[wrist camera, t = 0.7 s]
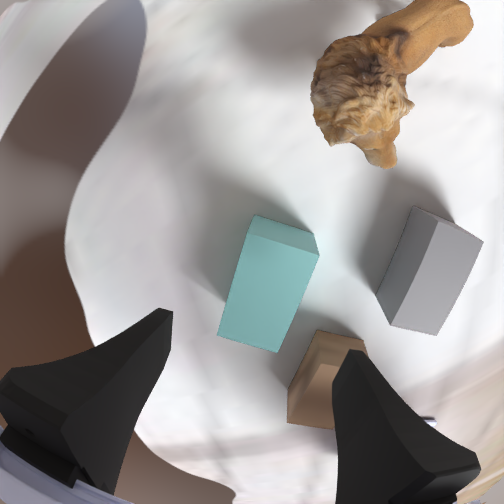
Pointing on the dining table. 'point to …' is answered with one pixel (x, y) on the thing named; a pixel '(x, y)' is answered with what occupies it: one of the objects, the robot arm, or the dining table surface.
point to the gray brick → (427, 272)
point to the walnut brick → (318, 380)
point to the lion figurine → (381, 75)
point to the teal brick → (268, 283)
